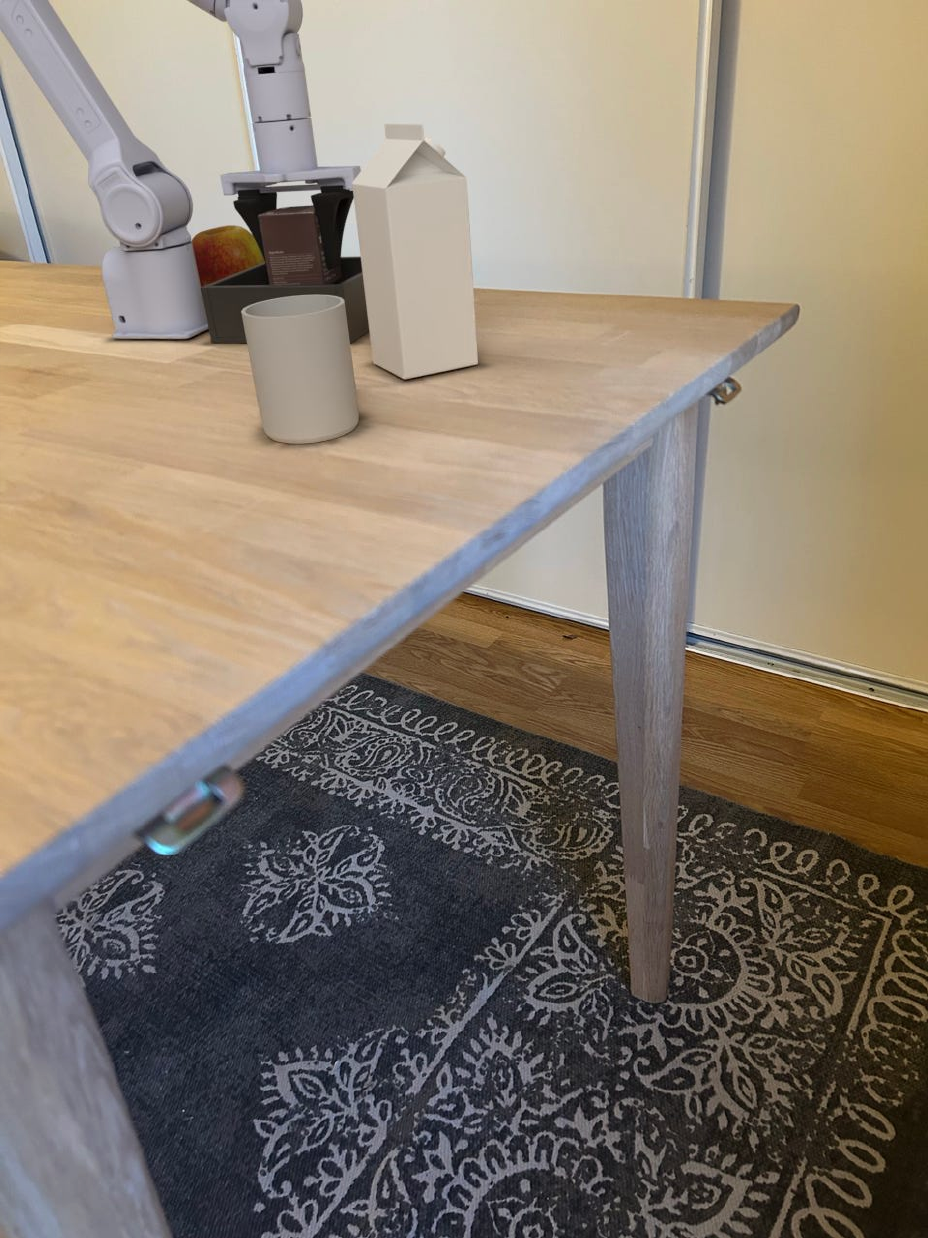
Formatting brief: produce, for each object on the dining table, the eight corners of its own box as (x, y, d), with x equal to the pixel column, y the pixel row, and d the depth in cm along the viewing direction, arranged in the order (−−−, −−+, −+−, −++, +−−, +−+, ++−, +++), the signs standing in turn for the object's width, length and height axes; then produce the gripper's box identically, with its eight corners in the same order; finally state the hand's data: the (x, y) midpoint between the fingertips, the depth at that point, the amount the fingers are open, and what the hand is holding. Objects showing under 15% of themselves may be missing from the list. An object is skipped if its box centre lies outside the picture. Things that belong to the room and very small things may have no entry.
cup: (278, 452, 67) (255, 323, 62) (245, 415, 75) (222, 299, 70) (373, 431, 69) (358, 305, 64) (331, 398, 77) (315, 284, 72)
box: (324, 289, 96) (313, 211, 92) (269, 291, 97) (256, 214, 93) (343, 277, 101) (333, 203, 97) (290, 279, 102) (278, 206, 99)
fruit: (178, 302, 117) (164, 233, 113) (226, 286, 124) (214, 221, 120) (238, 304, 113) (225, 233, 109) (285, 289, 120) (274, 221, 116)
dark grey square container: (211, 343, 97) (199, 287, 94) (279, 308, 110) (271, 258, 107) (350, 343, 92) (343, 285, 90) (405, 307, 105) (400, 255, 102)
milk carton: (404, 381, 80) (379, 128, 70) (372, 364, 85) (344, 128, 76) (479, 366, 82) (464, 120, 73) (443, 350, 88) (424, 120, 78)
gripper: (194, 127, 90) (223, 276, 97) (333, 118, 86) (352, 273, 93) (231, 122, 96) (255, 263, 103) (362, 113, 92) (379, 260, 99)
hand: (303, 267), depth 98 cm, fingers closed on box, 6 cm apart
